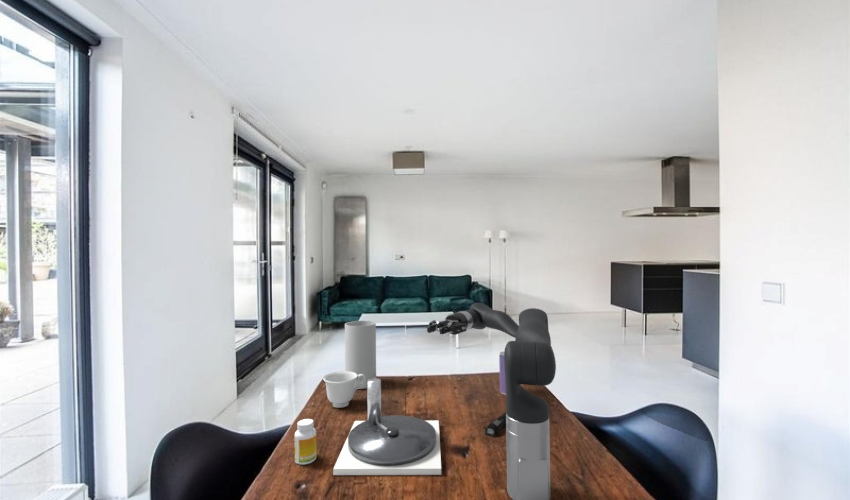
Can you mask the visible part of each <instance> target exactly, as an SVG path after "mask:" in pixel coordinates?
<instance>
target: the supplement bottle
mask: <svg viewBox="0 0 850 500" xmlns="http://www.w3.org/2000/svg"><path fill="white" fill-rule="evenodd" d="M314 424H315V423H314V419H312V418H304V419H301V420H299V421H297V424H296V425H297V427H296V428H297V430H296V431H295V432H294V462H295V463H296V464H297V465H301V466H302V465H309V464H311V463H314V462H315V460H316V459H317V430H316V428H315V427H314Z"/></svg>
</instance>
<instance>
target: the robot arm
mask: <svg viewBox="0 0 850 500" xmlns="http://www.w3.org/2000/svg"><path fill="white" fill-rule="evenodd" d="M486 328H489V329H492V330H497V331H500V332H502V333H505V334H507V335H509V336H510V337H512V338H514V339H515V340H508V342H507V343H506V345H505V346H504V347H505V348H504V350H503V351H504V367H505V381H506V395H505V403H506V404H505V412H506V426H505V428H506V429H505V433H506V434H505V437H506V438H505V440H506V446H505V447H506V491H507V494H508V496H509V497H510V498H511V499H512V500H550V499H551V460H550V459H551V457H550V455H551V450H550V448H551V447H550V444H551V443H550V440H551V439H550V405H549V404H548V402H547V401H546V400H545V399H544V398H542V397H540V396H538V395H536V394H533V393H532V392H530V391H528V390H526V388H524V387H523V385H526V386H536V387H537V386H538V387H540V386H541V387H542V386H543V387H545V386H548V385H550V384H552V382H554V378H555V376H556V370H557V365H556V364H557V361H556V357H555V353H554V350H553V347H552V340H551V335H550V330H549V318H548V313H546V312H545V311H544V310H543V309H539V308H536V307H535V308H534V307H533V308H526V309H523V310H522V311H521V312H520V313H519V315H518V324H517V322H515V321H514V319H513V318H512V317H511V316H510V315H509V314H507V313H506V312H505V311H502V310H496V309H493V308H491V307H490V306H489V305H486V304H485V303H482V302H475V303H472V304H471V305H470V307H469V309H468V310H463V311H462V310H461V311H458V312H453V313H450V314H448V315H447V316H446V317H445V319H442V320H438V321H437V320H435V319H434V320H432V321H430V322H428V325H427V326H426V332H427V333H428V334H430V333H434V332H439V335H444V334H451V335H453V336H456V335H460V334H462V333H465V332H467V331H470V330H471V329H474V330H475V329H476V330H484V329H486Z"/></svg>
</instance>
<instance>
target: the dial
mask: <svg viewBox="0 0 850 500" xmlns="http://www.w3.org/2000/svg"><path fill="white" fill-rule="evenodd" d="M366 392H367V395H366V396H367V399H366V400H367V401H366V402H367V403H366V404H367V405H366V406H367V410H366V411H367V412H366V413H367V420H363V421H364V422H362V423H360V424H359V425H357V426H356V427H354V428H353V429H352V430H351V429H350V431H351V432H350V431H349V433H348V435H349V436H348V435H347V437H348V449H349V452H350V453H351V454H352V456H354V457H355V458H356V459H358V460H360V461H362V462H365V463H368V464H372V465H379V466H396V465H403V464H408V463H411V462H414V461H417V460H420V459H422V458H424V457H425V456H427V455H428V454H429V453H431V451H432V450H433V449H434V447H435V445H436V431H435V429H434V427H433V426H432V425H431V424H430V423H428V422H426V421H427V420H425V419H422V418H419V417H416V416H411V415H404V414H403V415H400V414H399V415H397V414H396V415H395V414H394V415H393V414H392V415H391V414H390V415H383V416H382V380H381V379H380V378H377V377H376V378H374V379H369V380H367V388H366Z"/></svg>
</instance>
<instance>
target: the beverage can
mask: <svg viewBox="0 0 850 500" xmlns="http://www.w3.org/2000/svg"><path fill="white" fill-rule="evenodd" d="M504 351H505V350H503V351H500V352H499V356H498V357H499V360H498V361H499V362H498V363H499V392H500V394H503V395H505V396H506V381H505V367H504Z"/></svg>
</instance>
